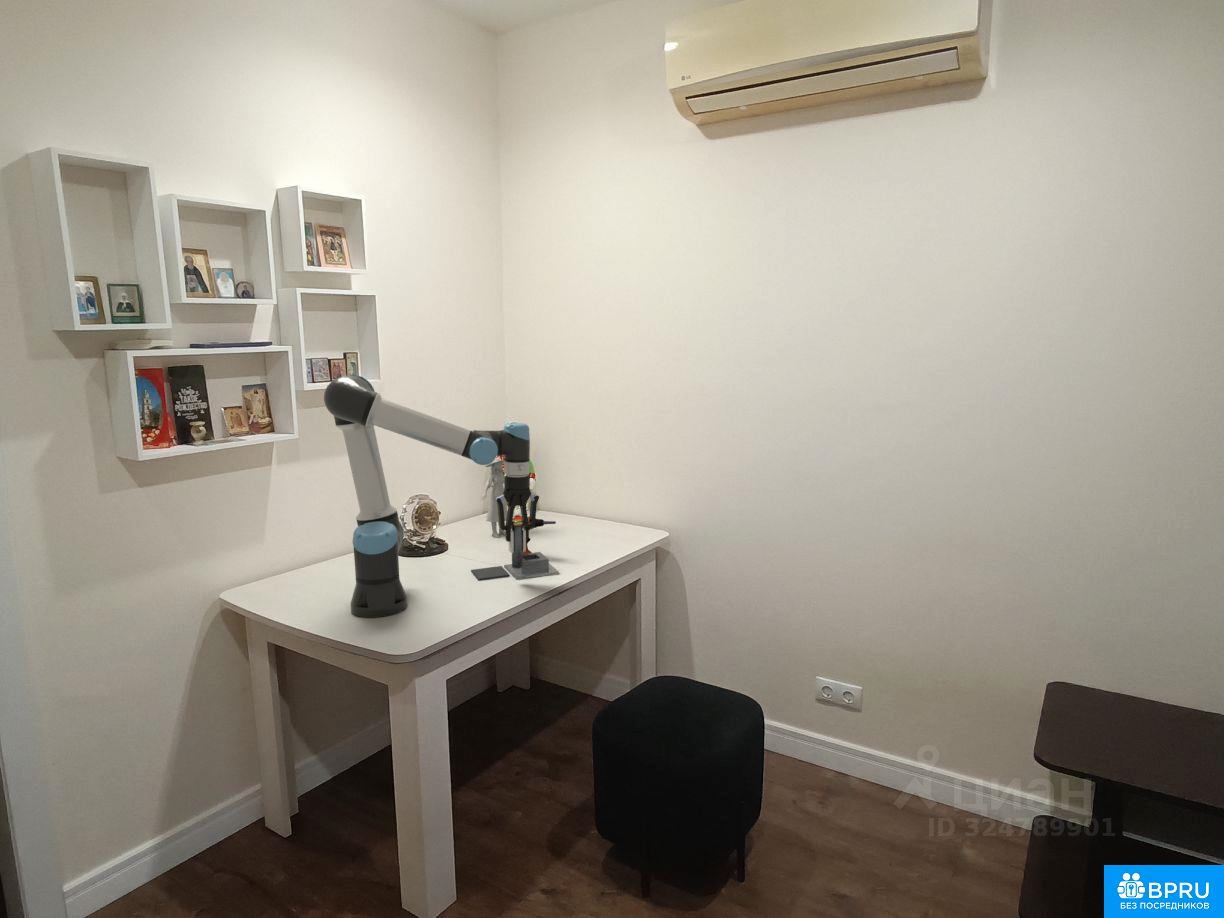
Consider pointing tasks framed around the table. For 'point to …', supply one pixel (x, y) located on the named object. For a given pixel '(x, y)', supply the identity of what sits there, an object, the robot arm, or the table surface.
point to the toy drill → (537, 524)
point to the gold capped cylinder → (517, 544)
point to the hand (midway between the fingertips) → (517, 550)
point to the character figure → (495, 495)
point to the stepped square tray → (532, 567)
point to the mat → (490, 573)
